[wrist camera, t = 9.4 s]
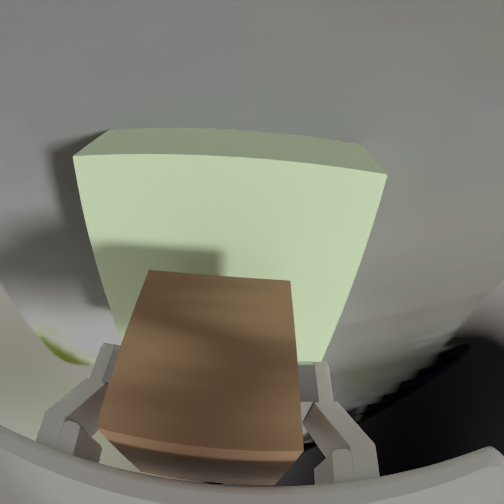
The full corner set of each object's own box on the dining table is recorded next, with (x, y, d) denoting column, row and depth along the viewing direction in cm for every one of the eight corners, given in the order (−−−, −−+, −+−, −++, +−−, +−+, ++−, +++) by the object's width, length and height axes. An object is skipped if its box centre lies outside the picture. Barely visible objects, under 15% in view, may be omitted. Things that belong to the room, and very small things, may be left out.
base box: (140, 300, 21) (124, 346, 18) (112, 127, 14) (72, 156, 10) (313, 313, 21) (320, 362, 18) (358, 141, 14) (387, 174, 11)
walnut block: (165, 350, 14) (141, 471, 9) (149, 270, 11) (95, 427, 6) (272, 359, 14) (274, 484, 9) (290, 280, 11) (303, 450, 6)
